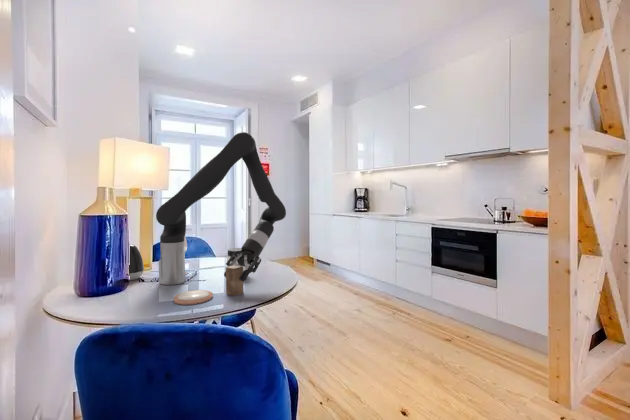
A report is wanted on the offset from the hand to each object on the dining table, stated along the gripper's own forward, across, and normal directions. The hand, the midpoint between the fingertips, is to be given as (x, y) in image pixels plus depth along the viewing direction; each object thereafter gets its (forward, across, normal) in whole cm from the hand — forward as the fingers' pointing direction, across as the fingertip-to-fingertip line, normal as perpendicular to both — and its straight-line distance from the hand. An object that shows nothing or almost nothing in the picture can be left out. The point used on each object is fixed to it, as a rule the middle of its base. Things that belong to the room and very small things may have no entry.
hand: (233, 278), depth 118 cm
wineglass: (0, -44, +8) cm, 45 cm away
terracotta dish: (+12, -8, -4) cm, 15 cm away
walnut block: (+4, 0, +4) cm, 6 cm away
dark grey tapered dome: (+12, -54, -4) cm, 55 cm away
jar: (-9, -20, +18) cm, 28 cm away
